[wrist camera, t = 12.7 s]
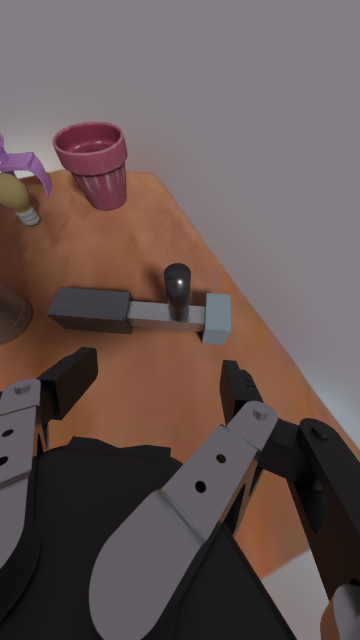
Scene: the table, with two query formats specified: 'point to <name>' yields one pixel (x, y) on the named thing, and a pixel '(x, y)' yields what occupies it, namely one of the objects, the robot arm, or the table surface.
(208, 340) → the socket
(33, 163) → the toy chair
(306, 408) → the table surface
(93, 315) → the sleeve
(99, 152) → the plant pot
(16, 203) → the light bulb
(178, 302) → the block with knob
